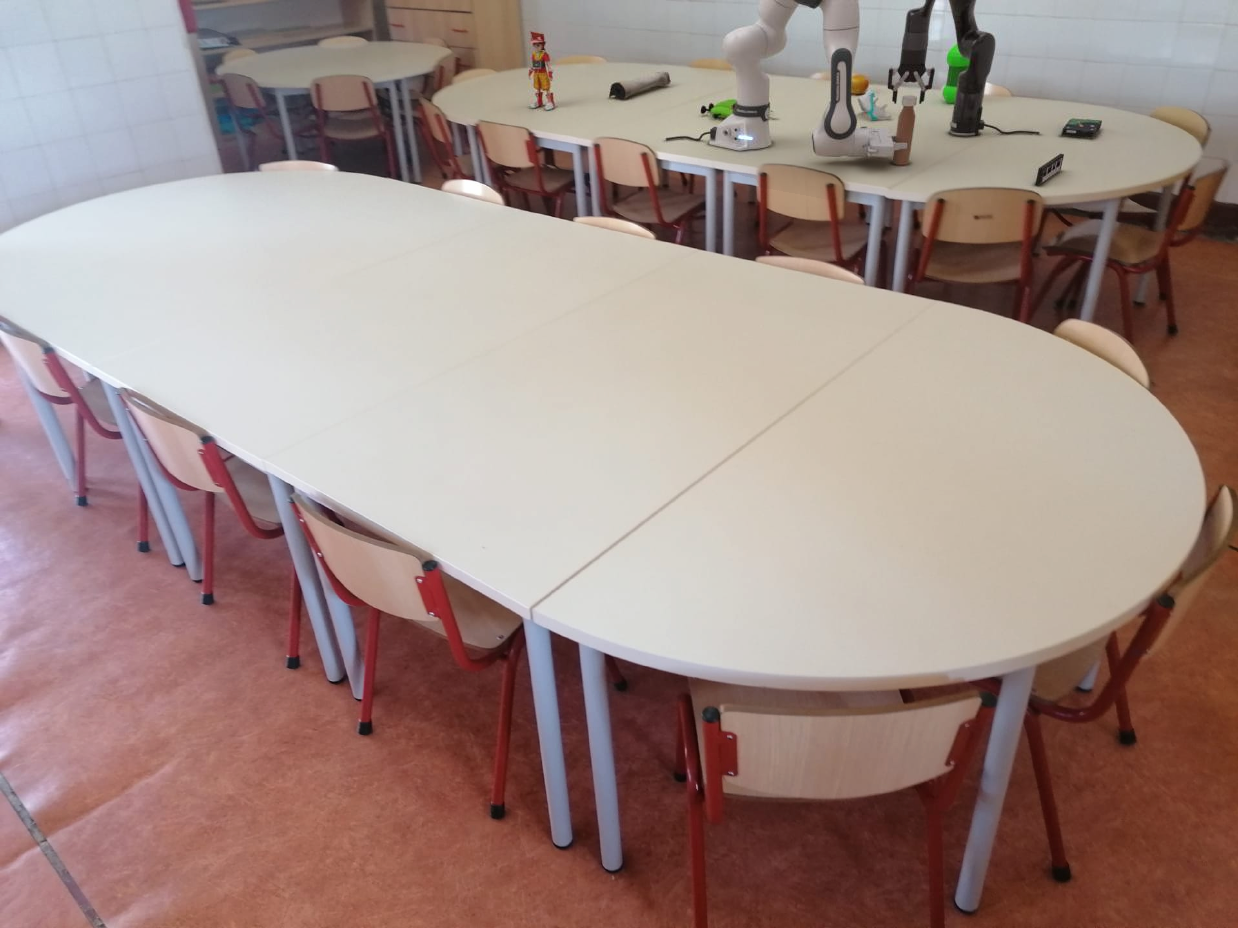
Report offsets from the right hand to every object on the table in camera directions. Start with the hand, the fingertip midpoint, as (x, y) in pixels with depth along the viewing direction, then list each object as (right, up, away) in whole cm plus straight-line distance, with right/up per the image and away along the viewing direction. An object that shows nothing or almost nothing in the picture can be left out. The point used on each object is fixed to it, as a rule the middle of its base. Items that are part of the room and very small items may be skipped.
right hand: (907, 103), depth 284 cm
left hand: (+2, -10, +7) cm, 12 cm away
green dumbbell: (+41, +29, +71) cm, 87 cm away
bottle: (+1, -15, +10) cm, 19 cm away
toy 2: (-43, +23, +70) cm, 86 cm away
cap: (0, +1, -1) cm, 2 cm away
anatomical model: (+5, +19, +60) cm, 63 cm away
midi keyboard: (+40, -27, -9) cm, 49 cm away
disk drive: (+69, +1, +28) cm, 75 cm away
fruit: (+8, +40, +90) cm, 99 cm away
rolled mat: (-82, +50, +113) cm, 148 cm away
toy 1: (-124, +38, +99) cm, 163 cm away
